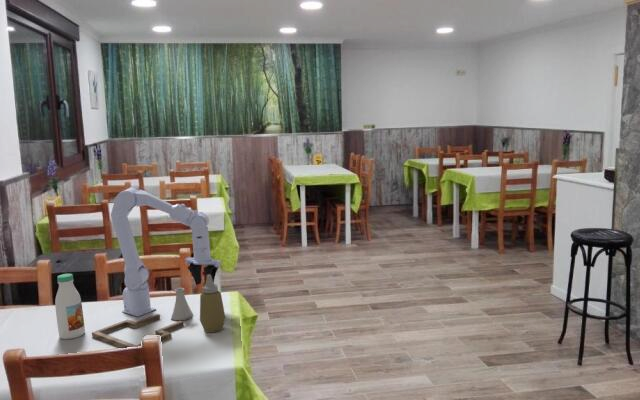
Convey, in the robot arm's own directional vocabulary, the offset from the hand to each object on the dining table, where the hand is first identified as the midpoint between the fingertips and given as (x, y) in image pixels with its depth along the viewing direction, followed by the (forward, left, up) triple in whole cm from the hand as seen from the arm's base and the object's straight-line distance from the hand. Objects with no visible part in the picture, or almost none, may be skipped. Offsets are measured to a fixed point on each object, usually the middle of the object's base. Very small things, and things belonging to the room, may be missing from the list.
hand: (204, 284), depth 198 cm
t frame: (0, -27, -8) cm, 28 cm away
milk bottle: (-19, -40, -9) cm, 45 cm away
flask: (0, -11, -9) cm, 14 cm away
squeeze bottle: (+18, -13, -9) cm, 24 cm away
